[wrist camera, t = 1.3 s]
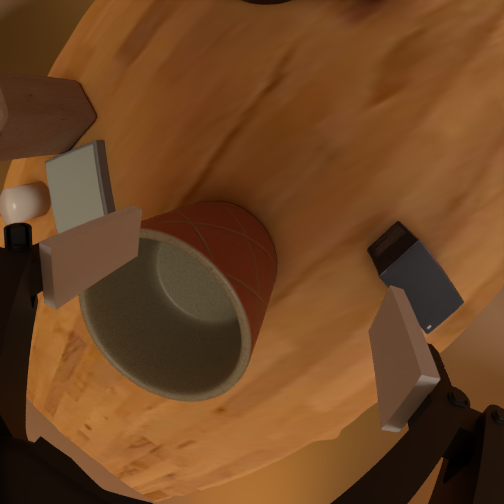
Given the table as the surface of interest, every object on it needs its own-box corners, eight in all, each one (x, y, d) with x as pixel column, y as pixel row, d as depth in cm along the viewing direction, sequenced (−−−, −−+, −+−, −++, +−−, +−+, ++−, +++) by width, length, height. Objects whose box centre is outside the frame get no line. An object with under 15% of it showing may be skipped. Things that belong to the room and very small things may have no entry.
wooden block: (100, 117, 43) (3, 115, 25) (68, 155, 47) (-22, 168, 28) (79, 79, 42) (-10, 68, 23) (49, 116, 46) (-35, 120, 27)
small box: (441, 271, 39) (467, 303, 29) (408, 299, 41) (426, 338, 32) (399, 218, 38) (421, 238, 29) (365, 249, 41) (376, 278, 31)
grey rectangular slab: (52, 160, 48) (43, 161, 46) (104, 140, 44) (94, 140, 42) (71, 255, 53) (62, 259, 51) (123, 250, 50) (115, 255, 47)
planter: (304, 291, 45) (287, 383, 26) (199, 329, 51) (142, 409, 32) (244, 171, 41) (179, 186, 23) (142, 229, 48) (53, 273, 29)
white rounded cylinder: (29, 185, 51) (-3, 193, 43) (47, 178, 49) (13, 185, 41) (35, 217, 53) (3, 228, 45) (53, 212, 51) (20, 223, 43)
